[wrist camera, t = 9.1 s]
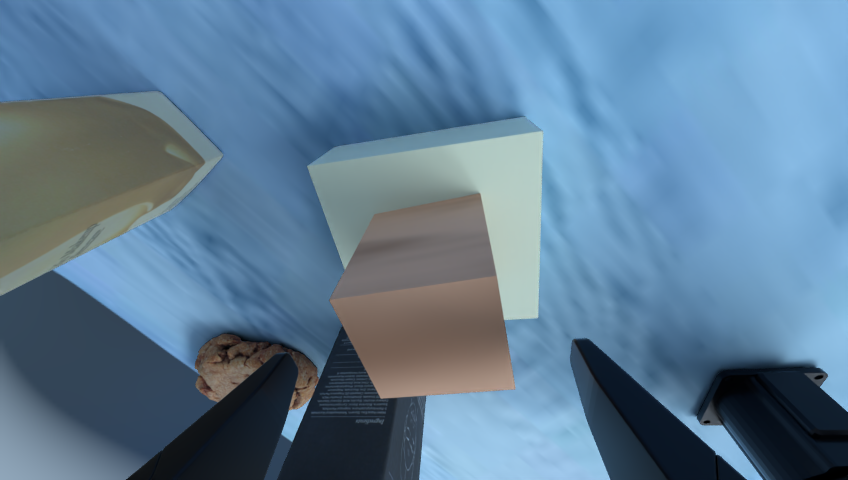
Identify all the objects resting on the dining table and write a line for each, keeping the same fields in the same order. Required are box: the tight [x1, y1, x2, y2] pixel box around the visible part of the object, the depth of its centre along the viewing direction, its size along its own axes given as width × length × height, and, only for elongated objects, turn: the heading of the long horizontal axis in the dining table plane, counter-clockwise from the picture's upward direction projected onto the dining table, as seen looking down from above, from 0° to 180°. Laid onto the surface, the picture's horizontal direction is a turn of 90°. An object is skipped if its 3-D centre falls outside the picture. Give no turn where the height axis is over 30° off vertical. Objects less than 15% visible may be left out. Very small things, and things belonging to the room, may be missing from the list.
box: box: [277, 327, 426, 480], centre depth 20 cm, size 8×6×11 cm
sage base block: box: [307, 116, 543, 320], centre depth 17 cm, size 10×10×4 cm
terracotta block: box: [329, 193, 515, 399], centre depth 12 cm, size 5×5×6 cm
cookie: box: [195, 334, 319, 410], centre depth 26 cm, size 10×11×3 cm
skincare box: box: [0, 91, 223, 296], centre depth 12 cm, size 6×4×12 cm
